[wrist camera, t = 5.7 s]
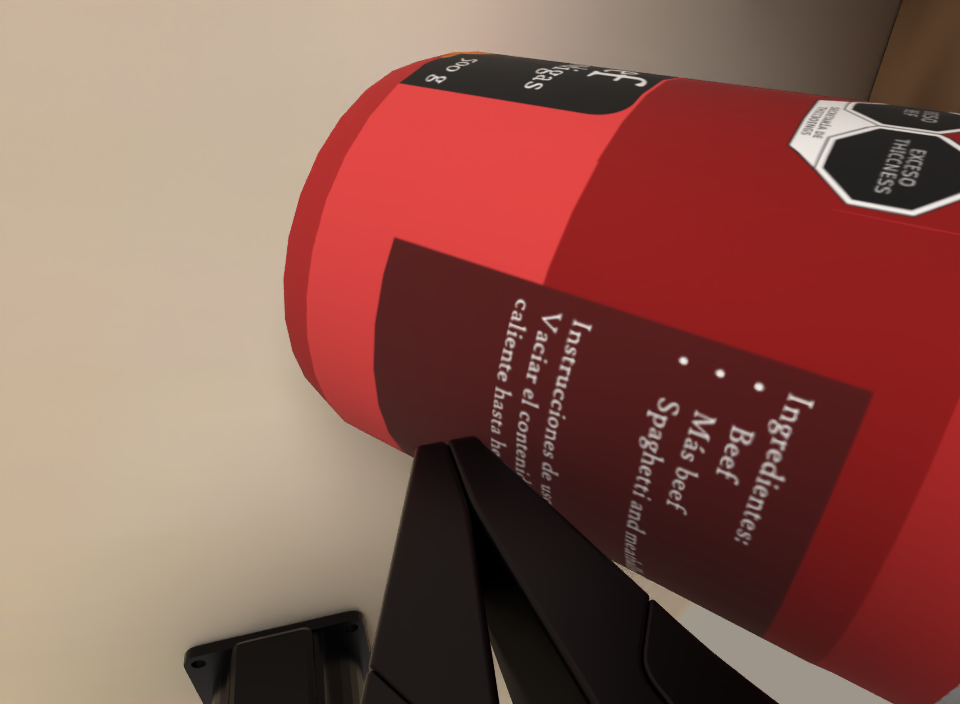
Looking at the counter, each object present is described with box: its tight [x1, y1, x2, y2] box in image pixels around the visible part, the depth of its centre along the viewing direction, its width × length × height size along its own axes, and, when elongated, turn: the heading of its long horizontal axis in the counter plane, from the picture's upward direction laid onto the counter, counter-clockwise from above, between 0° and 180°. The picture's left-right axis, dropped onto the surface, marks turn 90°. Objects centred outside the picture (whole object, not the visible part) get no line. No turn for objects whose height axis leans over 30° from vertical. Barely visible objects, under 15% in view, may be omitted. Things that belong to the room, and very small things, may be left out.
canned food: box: [284, 52, 960, 704], centre depth 11 cm, size 8×8×11 cm
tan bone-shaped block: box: [868, 0, 960, 114], centre depth 17 cm, size 16×7×3 cm, turn 0°
